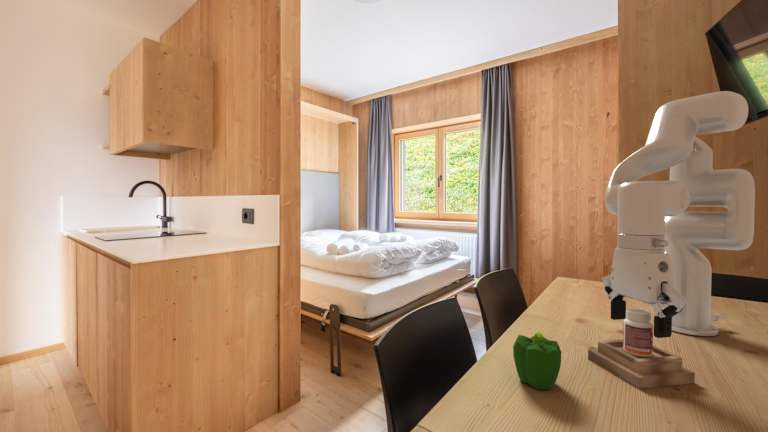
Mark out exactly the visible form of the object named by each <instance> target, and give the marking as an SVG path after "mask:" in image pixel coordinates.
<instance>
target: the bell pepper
mask: <svg viewBox="0 0 768 432" xmlns="http://www.w3.org/2000/svg"><path fill="white" fill-rule="evenodd" d="M512 350H513V351H512V355H513V360H514V365H515V369H516V373H517V376H518V377H519V379H520V381H521V382H523V383H524V384H525V383H526V384H528V385H529V386H531V387H533V388H534V389H538V390H544V391H545V390H551V389H552V387H553V386H554V384H556V382H557V379H558V377H559V373H560V369H561V364H562V351H561V348H560V346H559V344H558V341H556V340H550V339H547V337H545V336H544V334H543V333H542V332H540V331H539V332H535V333H534V335H533V336H531V337H528V336H525V335H522V334H519V335H517V338H516V339H515V341H514V343H513V344H512Z"/></svg>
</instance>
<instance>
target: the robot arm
mask: <svg viewBox="0 0 768 432" xmlns="http://www.w3.org/2000/svg"><path fill="white" fill-rule="evenodd" d="M748 117H749V104H748V101H747V100H746V98H745V96H743V95H742V94H740V93H737V92H734V91H731V90H730V91H729V90H722V91H720V90H719V91H714V92H709V93H704V94H700V95H699V94H698V95H693V96H690V97H689V96H688V97H683V98H680V99H674V100H671V101H669V102H666V103H664V104H663V105H661V106H660V107H659V108H658V109H657V111H656V112H655V114H654V117H653V120H652V123H651V125H650V129H649V132H648V134H647V138H646V141H645V144H644V146H643V147H641V148H639V149H638V150H636V151H635V152H633V153H632V154H631V155H629V156H627V157H626V158H625V159H624V160H622V161H621V162H620V163H619V164H618V165H617V166H616V167H615V168H614V170H613V171H612V172H611V175H610V178H609V180H608V183H607V185H606V186H607V187H606V189H605V194H604V206H605V208H606V210H607V211H608V212H609V213H610V214H612V215H615V216H616V219H617V221H616V224H617V226H616V227H617V228H616V247H615V248H614V252H613V259H612V263H611V274H608V275H606V276H602V277H601V280H602V283H603V285H604V290H605V292H606V294H607V299H608V300H609V301H610V319H611V320H613V321H615V320H618V321H619V320H624V319H625V318H627V317H626V309H627V301H626V299H625V298H628V299H631V300H635V301H637V302H640V303H641V302H642V303H643V304H649V305H650V306H651V307H652V309H653V310H654V312H655V313H656V315H654V317H653V337H655V338H657V339H663V338H670V337H671V336H672V332H675V333H678V334H679V333H680V334H684V335H688V336H689V335H691V336H696V337H698V336H699V337H715V336H717V335H719V328H718V327H717V326H715V325H713V323H714V322H721V321H723V320H724V317H723V315H722V314H721V313H712V311H711V310H712V309H711V307H712V303H711V302H712V274H713V273H712V271H713V270H712V269H713V268H712V265H711V262H710V260H709V259H708V258H707V257H706V256H705V255H704V253H703V252H701V250H700V249H709V250H710V249H711V250H727V251H744V250H746V249H749V247H751V246H752V244H753V241H754V236H755V212H756V211H755V209H756V206H755V205H756V203H755V201H756V185H755V180H754V177H753V175H752V173H750V172H749V171H748V170H746V169H742V168H724V169H714V167H713V166H714V165H713V164H714V151H713V150H712V148H711V147H710V146H709V145H708V144H707V143H705V142H704V141H703V140H702V139H700V138H699V137H697V136H701V135H709V134H716V133H718V134H719V133H725V132H731V131H737V130H740V128H742V127H743V126H744V125H745V124H746V122H747V119H748ZM667 169H669V180H640V179H642V178H645V177H647V176H649V175H652V174H655V173H658V172H662V171H665V170H667ZM689 207H692V208H693V207H698V208H699V207H700V208H701V207H702V208H703V207H704V208H705V207H709V208H710V207H713V208H714V207H716V208H718V207H719V208H720V207H722V208H725V209H727V211H686V210H687V209H688V208H689Z"/></svg>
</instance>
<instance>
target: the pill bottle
mask: <svg viewBox="0 0 768 432" xmlns="http://www.w3.org/2000/svg"><path fill="white" fill-rule="evenodd" d="M651 320H652V313H651V312H650V311H646V310H643V309H639V308H638V309H637V308H626V318H625V319H623V321H622V323H623V328H622V329H623V330H622V332H623V333H622V334H623V335H622V337H623V349H624V351H625V352H627V353H629V354H631V355H634V356H639V357H651V356H652V355H653V346H654V323H652V322H651Z"/></svg>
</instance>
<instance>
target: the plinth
mask: <svg viewBox="0 0 768 432" xmlns="http://www.w3.org/2000/svg"><path fill="white" fill-rule="evenodd" d="M587 359H588V360H589V361H591V362H592V363H595V364H596V365H597V366H600V367H601V368H603V369H605V370H607V372H608V371H609V373H611V374H613V375H615V376H616V377H618V378H620V379H621V380H623V381H625V382H627V383H628V384H630V385H631V386H633V387H635V388H637V389H638V390H640V389H649V388H650V389H651V388H660V387H668V386H680V385H691V384H695V377H696V376H695V375H696V374H695V372H694V371H692V370H689V369H687V368H685V367H683V357H682V356H679V355H676V354H674V353H671V352H670V351H667V350H664V349H662V348H660V347H658V346H655V345H653V355H652V356H651V357H639V356H634V355H631V354H629V353H627V352H625V351H624V349H623V339H620V338H619V339H610V340H598V341H597V348H593V349H588V350H587Z"/></svg>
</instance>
